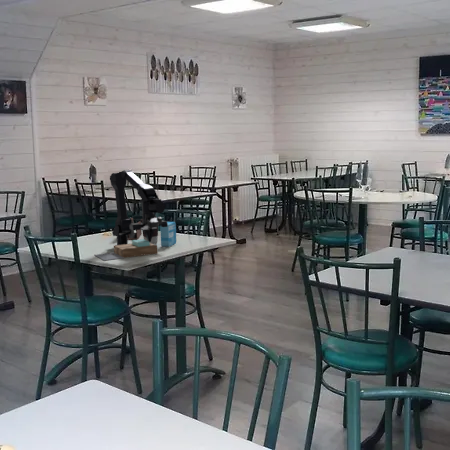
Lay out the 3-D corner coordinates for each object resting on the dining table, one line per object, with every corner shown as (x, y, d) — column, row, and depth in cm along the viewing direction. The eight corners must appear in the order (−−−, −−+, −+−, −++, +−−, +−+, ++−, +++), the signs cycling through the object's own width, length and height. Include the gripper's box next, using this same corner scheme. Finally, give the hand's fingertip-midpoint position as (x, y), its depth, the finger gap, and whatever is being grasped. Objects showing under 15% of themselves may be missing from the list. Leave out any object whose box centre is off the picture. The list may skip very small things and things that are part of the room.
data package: (168, 247, 318) (167, 224, 317) (160, 247, 320) (159, 224, 318) (176, 243, 330) (175, 221, 328) (168, 243, 331) (167, 221, 329)
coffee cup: (157, 241, 338) (156, 214, 335) (161, 244, 328) (160, 216, 326) (140, 242, 335) (138, 215, 332) (143, 245, 325) (142, 218, 323)
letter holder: (120, 240, 344) (118, 216, 342) (125, 235, 363) (124, 211, 361) (137, 240, 344) (136, 215, 342) (142, 234, 363) (140, 211, 361)
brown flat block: (114, 253, 306) (113, 245, 306) (147, 249, 315) (146, 241, 314) (123, 257, 294) (122, 249, 293) (157, 253, 303) (157, 245, 302)
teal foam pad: (132, 244, 308) (132, 240, 307) (143, 242, 310) (143, 239, 310) (138, 246, 300) (138, 242, 300) (149, 245, 303) (149, 241, 302)
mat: (94, 255, 302) (94, 254, 302) (113, 253, 307) (113, 252, 307) (104, 260, 288) (104, 260, 288) (124, 258, 293) (124, 257, 293)
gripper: (136, 215, 293) (138, 246, 296) (171, 211, 302) (172, 242, 305) (128, 212, 303) (130, 243, 305) (162, 209, 312) (163, 239, 314)
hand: (149, 242), depth 307 cm, fingers closed
